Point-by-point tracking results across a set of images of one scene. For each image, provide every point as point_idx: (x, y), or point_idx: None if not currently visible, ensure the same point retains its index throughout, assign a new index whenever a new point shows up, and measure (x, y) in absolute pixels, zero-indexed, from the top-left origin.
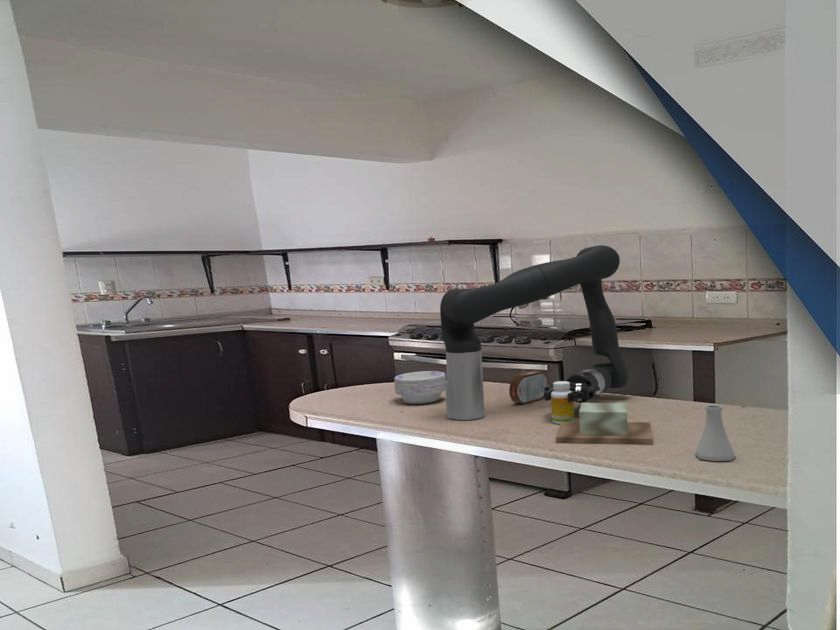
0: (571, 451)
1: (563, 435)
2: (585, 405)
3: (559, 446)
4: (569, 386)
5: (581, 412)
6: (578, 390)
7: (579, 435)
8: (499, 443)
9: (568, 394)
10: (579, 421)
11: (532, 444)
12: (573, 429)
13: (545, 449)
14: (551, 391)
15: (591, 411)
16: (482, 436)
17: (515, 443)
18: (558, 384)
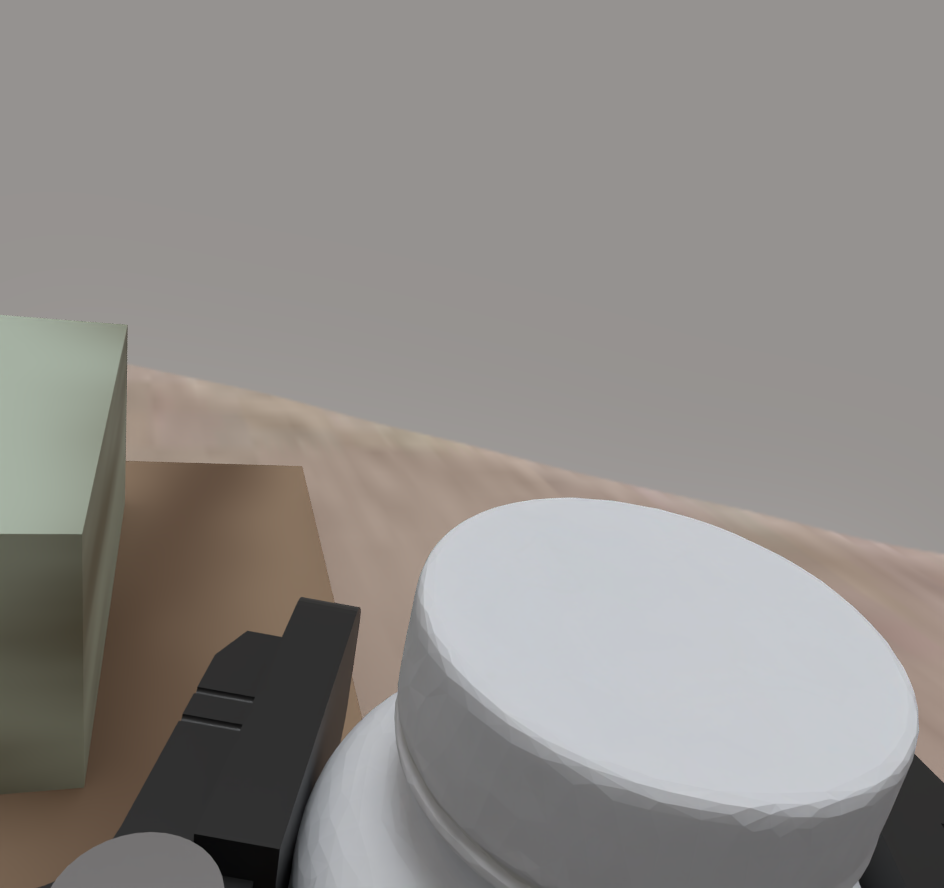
0: (177, 413)
1: (254, 489)
2: (37, 443)
3: (260, 460)
4: (403, 671)
5: (105, 326)
6: (128, 859)
7: (128, 492)
8: (618, 489)
9: (343, 607)
10: (125, 400)
11: (432, 481)
12: (189, 602)
13: (328, 432)
14: (873, 857)
15: (3, 325)
16: (822, 574)
17: (535, 491)
18: (620, 511)
